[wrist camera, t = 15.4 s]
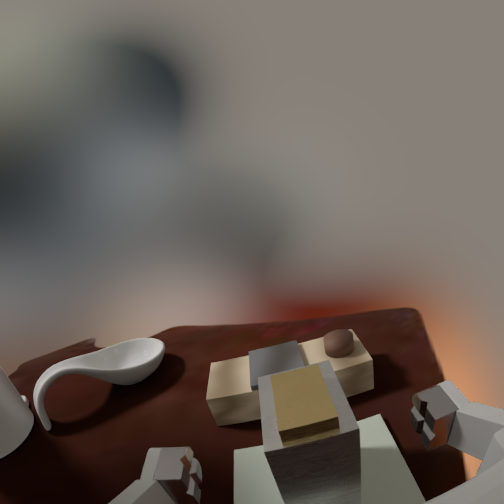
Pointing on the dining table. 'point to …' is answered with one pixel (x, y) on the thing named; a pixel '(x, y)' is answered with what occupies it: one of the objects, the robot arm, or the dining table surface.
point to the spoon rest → (104, 367)
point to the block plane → (282, 359)
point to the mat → (372, 471)
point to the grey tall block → (310, 436)
